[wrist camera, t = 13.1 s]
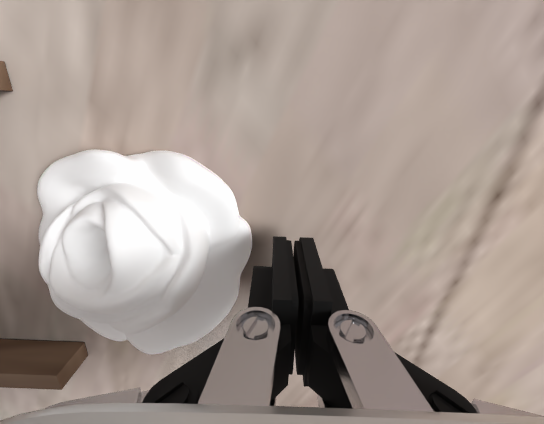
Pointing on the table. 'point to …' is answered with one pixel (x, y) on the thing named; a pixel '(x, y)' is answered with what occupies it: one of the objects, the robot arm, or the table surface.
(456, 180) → the table surface
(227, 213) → the rose
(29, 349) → the walnut bay
